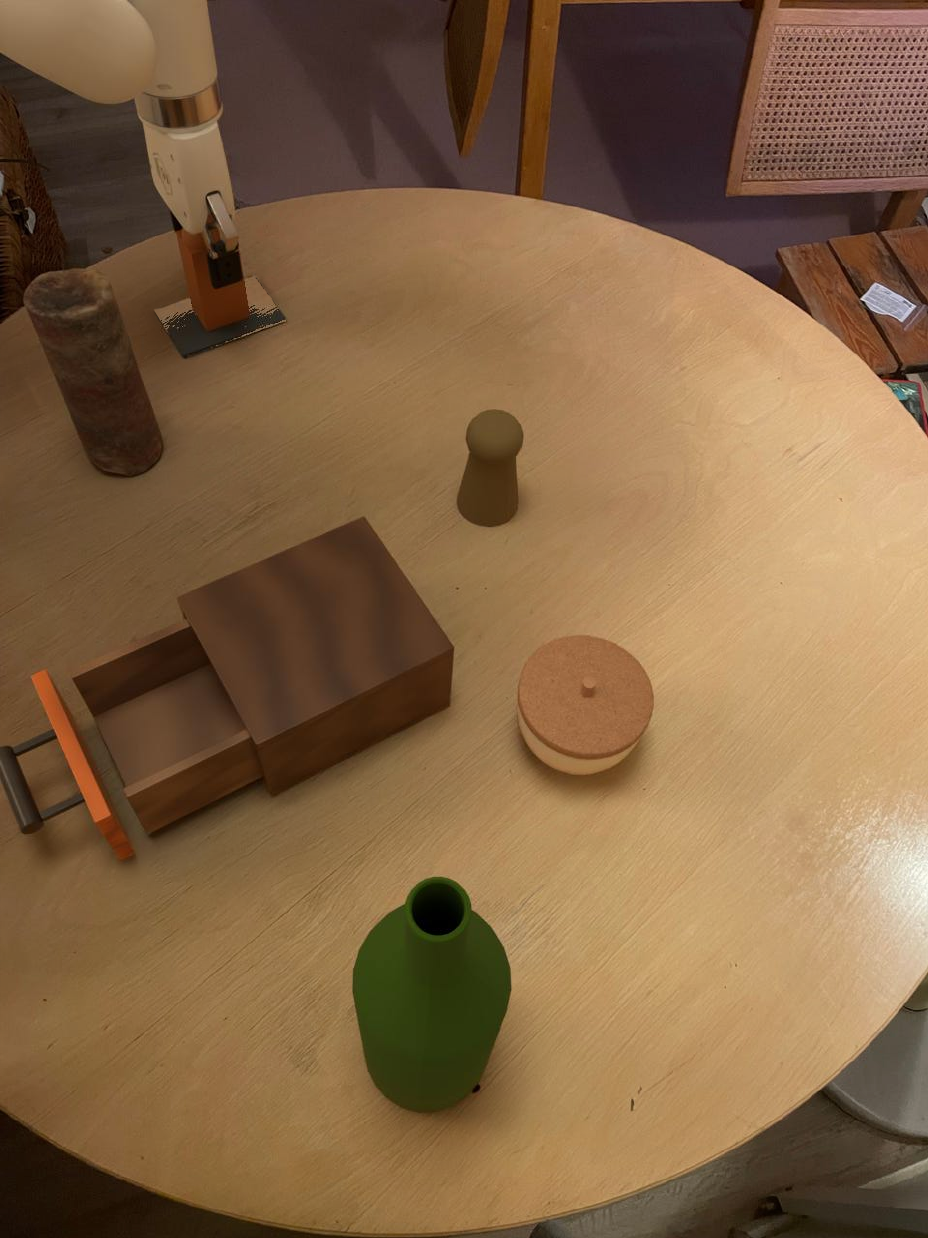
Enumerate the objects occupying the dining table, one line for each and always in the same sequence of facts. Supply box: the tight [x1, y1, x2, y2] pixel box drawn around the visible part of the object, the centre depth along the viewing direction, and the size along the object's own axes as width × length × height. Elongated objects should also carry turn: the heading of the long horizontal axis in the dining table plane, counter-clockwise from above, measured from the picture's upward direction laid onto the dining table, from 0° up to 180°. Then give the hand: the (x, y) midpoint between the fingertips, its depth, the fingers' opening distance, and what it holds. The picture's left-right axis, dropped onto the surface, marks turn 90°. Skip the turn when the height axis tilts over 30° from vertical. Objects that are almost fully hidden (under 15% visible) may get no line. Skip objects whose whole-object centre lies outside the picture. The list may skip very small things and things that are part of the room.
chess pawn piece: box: [456, 408, 525, 528], centre depth 96 cm, size 6×6×11 cm
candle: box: [22, 268, 163, 477], centre depth 94 cm, size 8×7×20 cm
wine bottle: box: [351, 876, 512, 1113], centre depth 60 cm, size 9×9×32 cm
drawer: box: [0, 618, 263, 861], centre depth 81 cm, size 21×14×8 cm, turn 121°
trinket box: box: [516, 634, 655, 776], centre depth 84 cm, size 11×11×9 cm
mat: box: [161, 305, 287, 358], centre depth 113 cm, size 12×8×1 cm, turn 121°
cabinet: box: [176, 515, 455, 798], centre depth 85 cm, size 17×15×10 cm
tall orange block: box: [175, 214, 250, 331], centre depth 108 cm, size 5×4×12 cm
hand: (208, 255), depth 106 cm, fingers open, 9 cm apart
